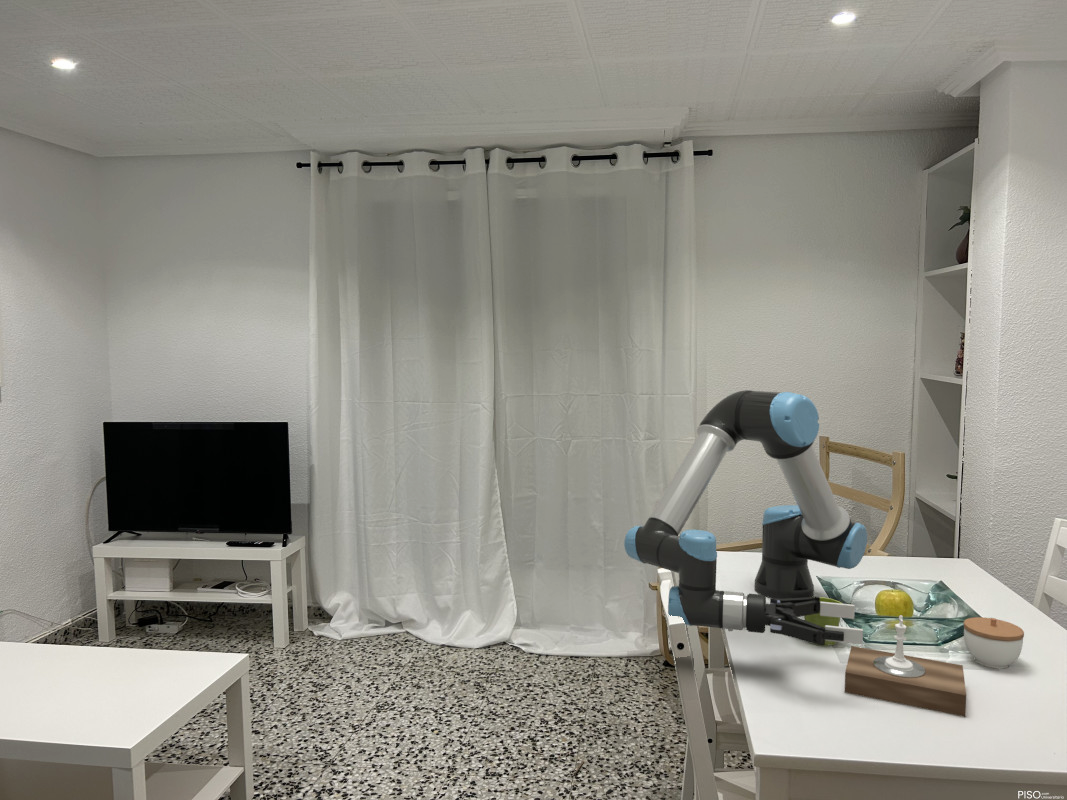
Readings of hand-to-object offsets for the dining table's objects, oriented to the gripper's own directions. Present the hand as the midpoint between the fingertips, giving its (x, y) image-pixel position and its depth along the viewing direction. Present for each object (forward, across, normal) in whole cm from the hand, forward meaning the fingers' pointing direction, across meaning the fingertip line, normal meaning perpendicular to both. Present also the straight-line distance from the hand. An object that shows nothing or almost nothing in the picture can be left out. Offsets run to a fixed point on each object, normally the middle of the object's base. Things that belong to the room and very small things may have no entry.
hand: (858, 623), depth 145 cm
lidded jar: (+28, -19, -12) cm, 36 cm away
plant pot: (-5, -20, -12) cm, 24 cm away
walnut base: (+8, 0, -12) cm, 15 cm away
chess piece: (+7, 0, -8) cm, 11 cm away
